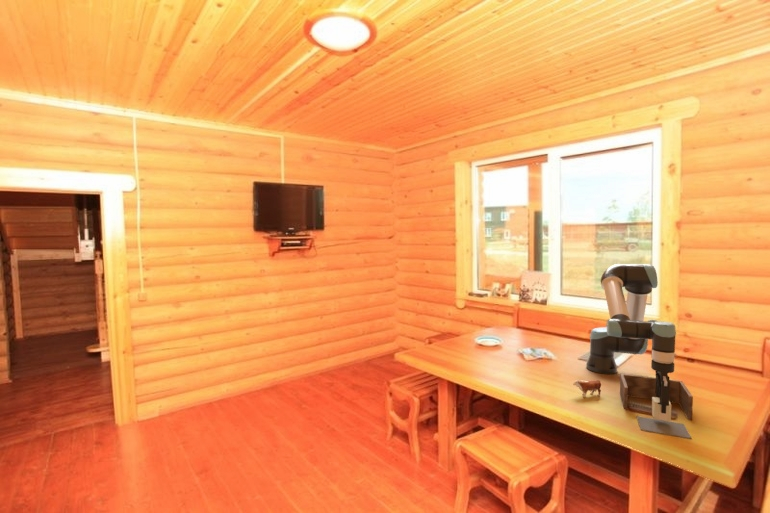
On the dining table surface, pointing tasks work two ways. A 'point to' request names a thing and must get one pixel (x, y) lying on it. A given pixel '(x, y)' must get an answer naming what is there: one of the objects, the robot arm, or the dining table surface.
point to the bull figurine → (588, 386)
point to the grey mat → (663, 427)
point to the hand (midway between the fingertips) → (661, 416)
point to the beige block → (656, 409)
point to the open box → (646, 389)
